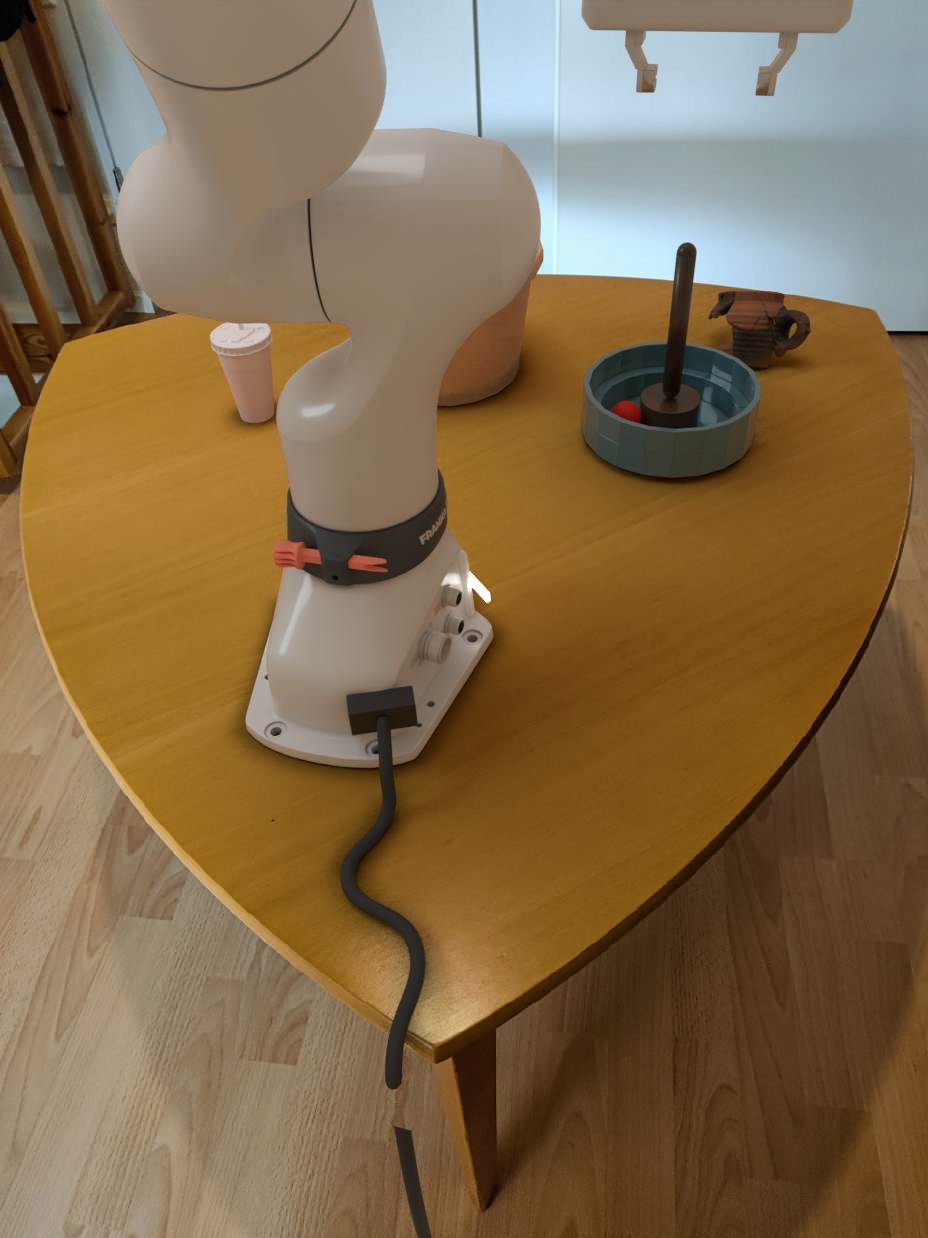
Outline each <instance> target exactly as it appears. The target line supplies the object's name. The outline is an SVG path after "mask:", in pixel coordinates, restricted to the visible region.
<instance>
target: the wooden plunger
mask: <svg viewBox="0 0 928 1238" xmlns="http://www.w3.org/2000/svg"><path fill="white" fill-rule="evenodd" d="M697 250H698V249H697V248H696V246H695V244H694V243H692V242H689V241H685V242H683V243H681V244H680V245H679V246H678V247H677V249H676V255H675V265H674V275H673V284H672V293H671V302H670V310H669V311H670V313H669V320H668V321H669V322H668V331H667V349H666V359H665V368H664V378H663V383H657V384H654V385H651V386H649V387H647V388H646V389H644V390H643V392H642V393H641V397H640V408H639V409H640V411H641V422H640V424H643V425H647V426H653V427H663V428H673V429H681V428H695V427H697V423H698V415H699V408H700V400H701V398H700V395H699V393H698V392H697V391H696V390H694V389H693V388H691V387H689V386H687V385H684V384H681V381H682V373H683V364H684V356H685V348H686V343H687V339H688V330H689V321H690V312H691V305H692V298H693V297H692V296H693V288H694V281H695V271H696V262H697V255H698V253H697V252H698V251H697Z"/></svg>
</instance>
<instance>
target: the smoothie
mask: <svg viewBox="0 0 928 1238" xmlns="http://www.w3.org/2000/svg"><path fill="white" fill-rule="evenodd" d="M273 339H274V336H273V334H272V330H271V326H270V325H269V323H248V324H234V323H228V322H224V323H222V324H220V325H218V326H217V327H215V328H214V329H213V330H212V331H211V332H210V335H209V341H210V348H211V350H213V352H214V353H216V355H217V358H218V360H219V363H220V366H221V369H222V371H223V374H224V377H225V379H226V381H227V385H228V388H229V390H230V392H231V395H232V397H233V400H234V403H235V406H236V408H237V411H238V413H239V416H240V419H241V420H242V421H243V422H245V423H248V424H259V423H264V422H266V421H268V420H270V419H271V418H273V417H274V415H275V400H274V386H273V385H274V383H273V382H274V381H273V369H272V368H273V367H272V351H271V350H272V349H271V343H272V342H273Z"/></svg>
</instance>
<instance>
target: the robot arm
mask: <svg viewBox="0 0 928 1238" xmlns="http://www.w3.org/2000/svg"><path fill="white" fill-rule="evenodd" d="M100 1H101V3H102V5H103V6H104V8H105V11H106V12H107V15H108V16H109V19H110V20H111V22H112V24H113V26H114V28H115V30H116V32H117V34H118V35H119V37H120V39H121V40H122V42H123V44H124V46H125V47H126V49H127V51H128V53H129V55H130V57H131V58H132V61H133V62H134V64H135V67H136V68H137V70H138V72H139V74H140V76H141V78H142V80H143V81H144V84H145V85H146V87H147V90H148V92H149V93H150V95H151V98H152V100H153V101H154V102H153V103H154V105H155V106H156V108H157V111H158V113H159V115H160V117H161V120H162V122H163V125H164V127H165V129H166V131H165V133H164V134H163V136H161V138H160V139H159V140H158V141H157V142H155V143H154V144H153V145H151V146H149V147H147V148H146V149H144V150H143V151H141V152H140V153H139V154H138V155H137V156H136V158H135V159H134V161H133V162H132V164H131V165H130V167H129V169H128V171H127V173H125V177H124V179H123V181H122V184H121V187H120V190H119V194H118V199H117V205H116V231H117V239H118V243H119V247H120V251H121V254H122V257H123V259H124V262H125V264H126V266H127V268H128V270H129V273H130V274H131V276H132V277H133V279H134V281H135V282H136V285H138V286H139V288H140V289H141V290H142V292H143V293H144V294H145V296H146V297H148V299H149V300H151V302H152V303H154V305H156V307H158V308H160V309H161V310H164V311H168V312H172V313H178V314H181V315H186V316H191V317H195V318H200V319H206V320H211V321H215V322H224V323H227V322H228V323H234V324H248V323H266V324H336V325H337V324H338V325H341V326H345V327H346V328H347V329H348V330H349V333H350V336H349V337H348V338H346V339H345V340H344V341H342V342H340V343H339V344H336V345H335V346H333V347H331V348H329V349H327V350H325V351H322V352H321V353H319V354H318V355H316V356H315V357H312V358H311V359H310V360H308V361H307V362H306V363H304V364H303V365H302V366H301V367H300V368H298V369H297V371H296V372H294V373H293V374H292V375H291V377H290V378H289V379H288V380H287V382H286V383H285V385H284V386H283V389H282V390H281V392H280V394H279V398H278V402H277V406H276V413H275V414H276V415H275V423H276V427H277V433H278V437H279V442H280V447H281V452H282V457H283V460H284V462H283V463H284V467H285V472H286V477H287V482H288V490H287V493H286V508H285V527H286V531H287V533H286V534H287V535H286V539H285V538H280V539H278V540H277V541H276V543H275V546H274V548H273V550H274V551H273V563H274V565H275V566H276V567H278V568H282V574H281V579H280V583H279V588H278V593H277V596H276V597H277V598H276V603H275V608H274V613H273V618H272V622H271V626H270V629H269V633H268V636H267V640H266V643H265V646H264V650H263V653H262V657H261V660H260V664H259V667H258V671H257V675H256V679H255V681H254V685H253V689H252V693H251V696H250V700H249V703H248V707H247V711H246V715H245V719H244V720H245V721H244V722H245V729H246V731H247V732H248V734H250V736H252V738H254V739H255V740H256V741H257V742H259V743H260V744H262V745H263V746H265V747H267V748H268V749H271V750H273V751H274V752H276V753H277V752H278V753H280V754H283V755H285V756H289V757H292V758H294V759H297V760H298V759H299V760H302V761H307V762H311V763H316V764H322V765H327V766H334V767H341V768H342V767H343V768H353V769H355V768H357V769H373V768H374V769H375V768H378V770H379V772H378V774H379V781H380V789H381V797H382V800H381V807H380V811H379V814H378V817H377V818H376V820H375V822H374V823H373V825H372V826H371V827H370V828H369V830H368V831H367V832H366V833H365V834H364V835H363V836H362V837H361V838H360V839H359V840H358V841H356V842H355V844H353V845H352V847H351V848H350V849H349V850H348V851H347V853H346V854H345V856H344V857H343V859H342V862H341V865H340V870H339V871H340V872H339V876H340V877H339V878H340V879H339V880H340V885H341V889H342V892H343V893H344V895H345V897H346V898H347V900H348V901H349V902H350V903H351V904H352V905H353V906H355V907H356V908H357V909H359V910H360V911H362V912H364V914H366V915H369V916H371V917H372V918H375V919H376V920H378V921H380V922H381V923H384V924H385V925H387V926H388V927H390V928H392V929H393V930H395V932H397V933H398V934H399V935H400V936H401V938H402V939H403V940H404V943H405V945H406V947H407V951H408V955H409V972H408V975H407V980H406V983H405V987H404V989H403V991H402V995H401V997H400V1000H399V1003H398V1005H397V1008H396V1010H395V1014H394V1016H393V1020H392V1022H391V1026H390V1029H389V1034H388V1037H387V1043H386V1050H385V1060H384V1061H385V1063H384V1082H385V1085H386V1087H387V1088H388V1089H389V1090H391V1091H393V1090H398V1089H399V1088H400V1086H401V1085H402V1082H403V1059H404V1049H405V1043H406V1038H407V1034H408V1031H409V1026H410V1024H411V1021H412V1018H413V1015H414V1013H415V1010H416V1008H417V1004H418V1001H419V999H420V996H421V993H422V990H423V986H424V981H425V976H426V952H425V947H424V944H423V940H422V938H421V935H420V933H419V931H418V930H417V928H416V927H415V926H414V925H413V923H412V922H411V921H410V920H409V919H407V918H406V917H405V916H404V915H402V914H401V913H399V912H398V911H396V910H395V909H393V908H391V907H389V906H387V905H385V904H383V903H381V902H379V901H377V900H375V899H373V898H372V897H370V896H369V895H367V894H366V893H365V892H363V890H362V889H361V888H360V887H359V885H358V884H357V881H356V877H355V876H356V875H355V874H356V873H355V872H356V868H357V866H358V864H359V863H360V862H361V860H362V858H363V857H364V856H365V855H366V854H367V853H368V852H369V851H370V850H371V849H373V847H374V846H375V845H377V843H378V842H379V841H380V840H381V839H382V837H383V836H385V834H386V832H387V831H388V829H389V828H390V826H391V824H392V822H393V819H394V816H395V813H396V808H397V789H396V783H395V776H394V775H395V774H394V766H396V765H401V764H404V763H408V762H411V761H413V760H415V759H416V758H417V757H418V756H419V755H420V754H421V752H422V751H423V749H424V748H425V746H426V745H427V743H428V742H429V740H430V738H432V736H433V734H434V732H435V731H436V729H437V727H438V726H439V725H440V723H441V721H442V720H443V718H444V717H445V715H446V713H447V712H448V710H449V709H450V707H451V706H452V704H453V703H454V701H455V699H456V698H457V696H458V694H459V693H460V692H461V690H462V688H463V687H464V685H465V684H466V682H467V681H468V679H469V678H470V676H471V675H472V672H473V671H474V669H475V668H476V666H477V665H478V664H479V662H480V661H481V659H482V657H483V655H484V654H485V653H486V651H487V649H488V648H489V646H490V645H491V643H492V641H493V639H494V630H493V625H492V624H491V622H490V621H489V620H488V619H487V618H486V617H484V615H482V614H481V613H479V612H478V611H477V610H476V609H475V599H474V594H473V589H474V590H475V592H476V593H477V594H478V595H479V596H480V597H481V598H482V599H483V600H484V601H485V602H486V603H490V602H491V593H490V591H489V590H487V588H486V587H485V586H484V585H483V584H482V583H481V582H480V581H479V580H478V579H477V578H476V576H475V575H473V573H472V572H471V571H470V564H469V557H468V554H467V552H466V551H465V549H464V547H462V545H461V544H460V543H459V542H458V541H457V539H456V538H455V536H454V535H453V534H452V532H451V531H450V529H449V528H448V508H449V507H448V505H449V503H448V493H447V488H446V487H445V479H444V476H443V474H442V472H441V470H440V468H439V467H438V451H437V450H438V449H437V422H438V421H437V417H438V416H437V415H438V406H437V403H438V395H439V391H440V386H441V383H442V380H443V377H444V374H445V372H446V370H447V368H448V365H449V364H450V362H451V360H452V358H453V357H454V355H455V354H456V352H457V351H458V349H459V348H460V347H461V345H462V344H463V343H464V341H465V340H466V339H467V338H468V337H469V336H470V335H471V334H472V333H473V331H474V330H475V329H477V328H478V327H479V326H480V325H481V324H482V323H483V322H484V321H486V320H487V319H488V318H490V317H491V316H492V315H494V314H495V313H497V312H498V311H500V310H501V309H503V308H505V307H506V306H507V305H508V304H509V303H510V302H511V301H512V300H513V299H514V297H515V296H516V295H517V294H518V293H519V291H520V290H521V288H522V287H523V285H524V284H525V282H526V281H527V279H528V277H529V275H530V273H531V271H532V268H533V266H534V263H535V260H536V257H537V253H538V249H539V243H540V241H541V233H542V216H541V208H540V203H539V198H538V194H537V191H536V188H535V185H534V182H533V180H532V177H531V176H530V174H529V171H528V170H527V168H526V167H525V165H524V163H523V162H522V160H521V159H520V158H519V157H518V155H517V154H516V153H515V152H514V150H513V149H512V148H510V146H509V145H508V144H507V143H505V142H503V141H499V140H495V139H490V138H486V137H482V136H477V135H472V134H468V133H462V132H456V131H451V130H445V129H440V128H433V127H414V128H413V127H411V128H376V126H377V125H378V122H379V120H380V117H381V114H382V111H383V107H384V104H385V99H386V91H387V64H386V63H387V62H386V57H385V53H384V48H383V43H382V39H381V35H380V30H379V25H378V20H377V15H376V9H375V5H374V1H373V0H100ZM853 7H854V0H581V18H582V20H583V21H584V23H585V25H586V26H587V28H588V29H589V30H591V31H613V32H615V31H617V32H618V31H619V32H625V37H624V38H625V39H624V47H625V50H626V52H627V54H628V57H629V59H630V60H631V63H632V64H633V67H634V69H635V70H637V71H636V84H635V85H636V86H635V93H638V94H645V93H646V94H647V93H649V94H651V93H652V94H654V93H655V92H656V89H657V83H658V82H657V81H658V80H657V75H658V68H659V64H657V63H649V61H648V60H647V57H646V55H645V52H644V49H643V47H642V46H643V44H644V42H645V40H646V38H647V32H687V33H689V32H693V33H694V32H697V33H761V34H763V33H764V34H765V33H770V34H771V33H772V34H778V42H777V49H779V52H778V54H776V56H775V58H773V60H772V62H771V63H770V65H769V66H768V65H760V66H759V68H758V74H757V80H756V86H755V94H754V96H757V97H758V96H759V97H774V96H775V92H776V85H777V80H778V74H780V72H781V71H782V70H783V68H784V67H785V65H786V64H787V63H788V61H789V60H790V59H791V57H792V56H793V54H794V53H795V51H796V50H797V45H798V39H799V35H800V34H829V35H830V34H837V33H839V32H840V31H841V30H843V28H844V27H845V26H846V25H847V24H848V23H849V22H850V20H851V18H852V14H853V13H852V12H853ZM376 752H377V753H376ZM393 1130H394V1136H395V1141H396V1148H397V1154H398V1160H399V1165H400V1169H401V1175H402V1179H403V1184H404V1185H403V1186H404V1189H405V1193H406V1199H407V1202H408V1203H407V1204H408V1207H409V1212H410V1215H411V1220H412V1223H413V1226H414V1229H415V1233H416V1237H417V1238H433V1237H432V1232H431V1227H430V1224H429V1219H428V1215H427V1210H426V1206H425V1201H424V1196H423V1191H422V1186H421V1181H420V1176H419V1169H418V1163H417V1157H416V1150H415V1145H414V1139H413V1133H412V1130H411V1129H408V1128H403V1127H399V1126H396V1125H393Z"/></svg>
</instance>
